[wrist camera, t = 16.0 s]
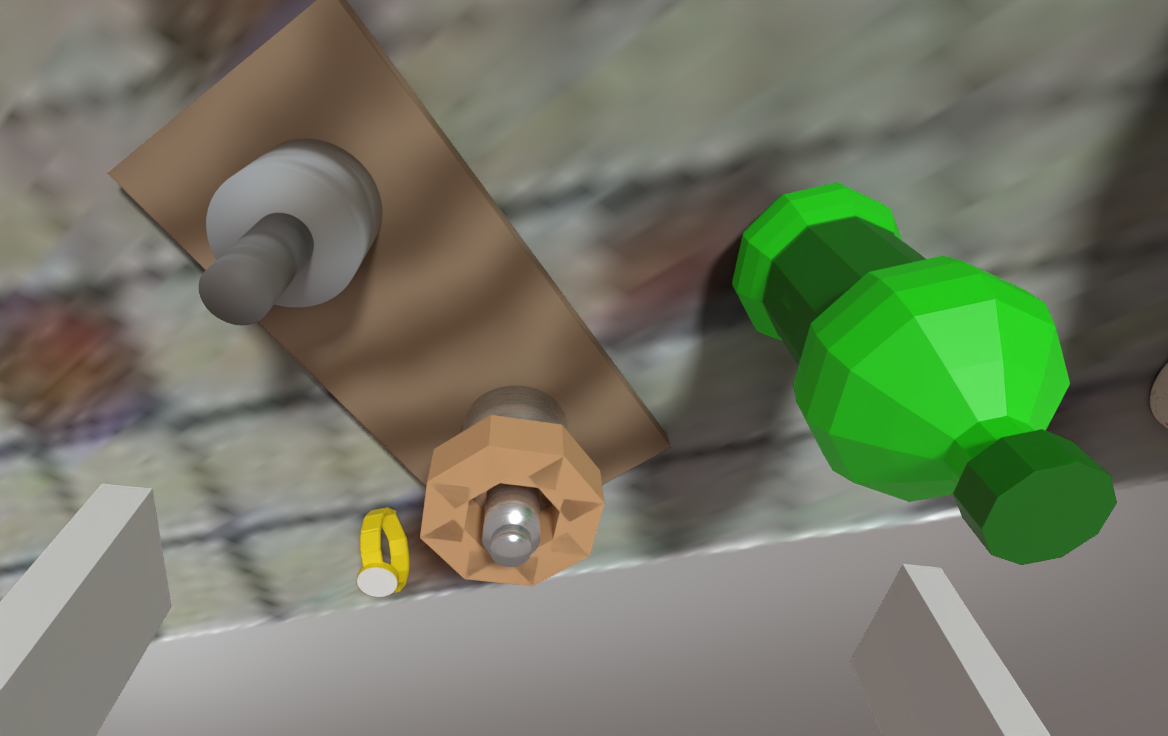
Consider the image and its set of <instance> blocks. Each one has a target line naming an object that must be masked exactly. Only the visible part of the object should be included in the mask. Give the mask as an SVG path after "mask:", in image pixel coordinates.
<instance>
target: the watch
mask: <svg viewBox="0 0 1168 736" xmlns="http://www.w3.org/2000/svg"><path fill="white" fill-rule="evenodd" d="M395 512H396V511H395V510H393V509H390V508H382V509H377V510H372V511H370V512H369V513H368V514H367V515H366V516H365V518H364V520H363V524H362V528H361V534H360V552H361V559H362V564H363V567H362V568H361V569H360V571H359V574H358V577H357V584H358V587H359V588H360V589H361V590H362V591H363V592H364V593H366V594H368V595H370V596H375V597H384V596H387V595H390V594H391V593H395V592H399V591H400V590H401V589H402V588H404V586H405V585H406V582H407V578H408V574H409V572H408V571H409V555H408V554H409V549H408V542H407V537H406V535H405V533H404V531H403V529H402V526H401V524H400V522H399V520H398V518H397V515H396V513H395ZM381 526H382V528H383V530H384V532H385V534H386V536H387V538H388V541H389V548H390V555H391V565H390V564H388V563H385V562H383V557H382V552H381Z"/></svg>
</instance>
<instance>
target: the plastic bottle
mask: <svg viewBox="0 0 1168 736" xmlns="http://www.w3.org/2000/svg"><path fill="white" fill-rule="evenodd" d="M732 285H733V287H734V289H735V291H736V293H737V295H738V297H739V299H740V300H741V302H742V304H743V306H744V308H745V310H746V312H747V314H748V316H749V318H750V320H751V322H752V324H753V325H754V327H755V329H756V330H757V332H760V333H762V334H765V335H767V336H770V337H772V338H775V339H777V340H780V341H782V342H784V344H785V345H786V347H787V348H788V350H789V351H790V353H791V354H792V356H793V357H794V359H795V360H796V362H797V363H798V365H799V366H798V369H797V373H796V376H795V380H794V383H793V387H794V392H795V397H796V402H797V404H798V406H799V408H800V410H801V412H802V414H803V416H804V418H805V420H806V422H807V424H808V425H809V427H810V429H811V431H812V433H813V435H814V437H815V439H816V441H817V443H818V445H819V447H820V449H821V451H822V453H823V455H824V456H825V458H826V460H827V461H828V463H829V465H830V466H831V468H832V470H833V471H835V472H836V473H838V474H840V475H841V476H843V477H845V478H846V479H848V480H850V481H852V482H853V483H856V484H859V485H862V486H865V487H868V488H871V489H874V490H877V491H879V492H882V493H885V494H888V495H891V496H894V497H897V498H900V499H903V500H905V501H908V502H910V501H916V500H922V499H928V498H934V497H940V496H945V495H950V494H953V495H954V497H955V500H956V502H957V505H958V508H959V510H960V513H961V515H962V518H963V519H964V520H965V521H966V523H967V524H968V525H969V527H970V528H971V529H972V531H973V532H974V533H975V534H976V536H977V537H978V538H979V540H980V541H981V542H982V544H983V545H984V546H985V547H986V549H987V550H988V551H989V553H990V554H991V555H993V556H996V557H999V558H1002V559H1005V560H1008V561H1011V562H1014V563H1017V564H1020V565H1024V564H1029V563H1034V562H1039V561H1044V560H1050V559H1055V558H1060V557H1063V556H1064V555H1066V554H1067V553H1069V552H1070V551H1072V550H1073V549H1075V548H1077V547H1078V546H1080V545H1081V544H1083V543H1084V542H1086V541H1087V540H1089V539H1091V538H1092V537H1094V536H1095V535H1097V534H1098V533H1099V531H1100V529H1101V528H1102V526H1103V524H1104V523H1105V521H1106V520H1107V518H1108V516H1109V515H1110V513H1111V511H1112V510H1113V508H1114V506H1115V505H1116V503H1117V501H1116V497H1115V492H1114V488H1113V484H1112V480H1111V476H1110V474H1109V473H1108V472H1106V471H1105V470H1104V469H1103V468H1102V467H1101V466H1100V465H1098V464H1097V463H1096V462H1095V461H1094V460H1093V459H1092V458H1091V457H1089V456H1088V455H1087V454H1086V453H1085V452H1084V451H1083V450H1081V449H1080V448H1079V447H1078V446H1077V445H1076V444H1075V443H1074V442H1072V441H1070V440H1068V439H1065V438H1063V437H1060V436H1058V435H1055V434H1053V433H1051V432H1048V431H1046V429H1047V427H1048V425H1049V423H1050V422H1051V420H1052V418H1053V416H1054V414H1055V412H1056V410H1057V408H1058V406H1059V404H1060V402H1061V400H1062V398H1063V396H1064V394H1065V392H1066V391H1067V389H1068V387H1069V385H1070V381H1069V377H1068V373H1067V369H1066V365H1065V362H1064V358H1063V354H1062V350H1061V346H1060V342H1059V338H1058V334H1057V330H1056V326H1055V324H1054V322H1053V320H1052V317H1051V315H1050V313H1049V310H1048V308H1047V306H1046V304H1045V303H1044V302H1043V301H1041V300H1040V299H1038V298H1037V297H1035V296H1034V295H1032V294H1030V293H1029V292H1027V291H1026V290H1024V289H1022V288H1020V287H1018V286H1016V285H1013V284H1011V283H1009V282H1007V281H1005V280H1003V279H1000V278H998V277H996V276H994V275H992V274H990V273H988V272H985V271H983V270H981V269H979V268H977V267H975V266H972V265H970V264H968V263H966V262H964V261H961V260H957V259H954V258H950V257H946V256H939V257H935V258H930V259H926V258H924V257H923V256H922V255H920V254H919V253H918V252H916V251H915V250H914V249H912V248H911V247H909V246H908V245H907V244H905V243H904V242H903V241H902V239H901V236H900V233H899V231H898V228H897V225H896V222H895V220H894V217H893V214H892V211H891V209H889V208H888V207H887V206H885V205H884V204H882V203H880V202H878V201H876V200H874V199H872V198H870V197H867V196H865V195H863V194H861V193H859V192H857V191H855V190H853V189H851V188H848V187H846V186H844V185H842V184H840V183H838V182H837V183H832V184H828V185H824V186H819V187H815V188H810V189H806V190H802V191H797V192H793V193H788V194H784V195H780V196H779V197H778V198H777V199H776V200H775V201H774V202H773V203H772V204H771V205H770V206H769V207H768V208H767V209H766V210H765V211H764V212H763V213H762V214H761V215H760V216H759V217H758V218H757V219H756V220H755V221H754V222H753V223H752V224H751V225H750V226H749V227H748V228H747V229H746V230H745V231H744V233H743V236H742V240H741V245H740V249H739V254H738V258H737V263H736V267H735V272H734V277H733V281H732Z"/></svg>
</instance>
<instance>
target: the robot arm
mask: <svg viewBox="0 0 1168 736" xmlns="http://www.w3.org/2000/svg"><path fill="white" fill-rule="evenodd" d="M170 608H171V601H170V595H169V588H168V582H167V576H166V570H165V564H164V557H163V551H162V545H161V539H160V533H159V527H158V520H157V514H156V508H155V502H154V496H153V489H149V488H139V487H129V486H119V485H110V484H101V485H100V487H99V488H98V489H97V490H96V491H95V492H94V493H93V495H92V496H91V497H90V498H89V499H88V500H87V502H86V503H85V504H84V505H83V506H82V507H81V509H80V510H79V511H78V512H77V513H76V514H75V516H74V517H73V518H72V519H71V520H70V521H69V523H68V524H67V525H66V526H65V527H64V528H63V530H62V531H61V532H60V533H59V534H58V535H57V537H56V538H55V539H54V540H53V541H52V542H51V544H50V545H49V546H48V547H47V548H46V549H45V551H44V552H43V553H42V554H41V555H40V556H39V558H38V559H37V560H36V561H35V562H34V563H33V565H32V566H31V567H30V568H29V569H28V570H27V572H26V573H25V574H24V575H23V576H22V577H21V579H20V580H19V581H18V582H17V583H16V584H15V585H14V587H13V588H12V589H11V590H10V591H9V592H8V594H7V595H6V596H5V597H4V598H3V599H2V601H1V602H0V736H96V735H97V733H98V731H99V729H100V728H101V726H102V724H103V722H104V721H105V719H106V717H107V716H108V714H109V712H110V711H111V709H112V707H113V705H114V704H115V702H116V700H117V699H118V696H119V695H120V694H121V692H122V690H123V688H124V687H125V685H126V683H127V681H128V680H129V678H130V676H131V675H132V673H133V671H134V669H135V668H136V666H137V665H138V663H139V661H140V659H141V658H142V656H143V654H144V653H145V651H146V649H147V647H148V646H149V644H150V642H151V641H152V639H153V637H154V636H155V634H156V632H157V630H158V629H159V627H160V625H161V624H162V622H163V620H164V618H165V617H166V615H167V613H168V612H169V610H170ZM850 663H851V665H852V667H853V670H854V672H855V674H856V677H857V679H858V681H859V684H860V686H861V688H862V691H863V693H864V695H865V697H866V700H867V702H868V704H869V707H870V709H871V711H872V714H873V716H874V718H875V720H876V723H877V725H878V727H879V730H880V732H881V734H882V736H1050V735H1049V733H1048V731H1047V730H1046V728H1045V727H1044V725H1043V724H1042V722H1041V721H1040V719H1039V718H1038V716H1037V715H1036V713H1035V711H1034V710H1033V708H1032V707H1031V705H1030V704H1029V702H1028V701H1027V699H1026V698H1025V696H1024V695H1023V693H1022V691H1021V690H1020V689H1019V687H1018V685H1017V684H1016V682H1015V681H1014V679H1013V678H1012V676H1011V675H1010V673H1009V672H1008V670H1007V669H1006V667H1005V665H1004V664H1003V662H1002V661H1001V659H1000V658H999V656H998V655H997V653H996V652H995V650H994V649H993V647H992V646H991V644H990V643H989V641H988V639H987V638H986V636H985V635H984V633H983V632H982V630H981V629H980V627H979V626H978V624H977V623H976V621H975V620H974V618H973V617H972V615H971V613H970V612H969V610H968V609H967V607H966V606H965V604H964V603H963V601H962V600H961V598H960V596H959V595H958V593H957V592H956V590H955V589H954V587H953V586H952V584H951V583H950V581H949V580H948V578H947V577H946V575H945V573H944V572H943V570H942V569H941V568H938V567H927V566H918V565H908V564H903V565H902V566H901V568H900V570H899V572H898V574H897V576H896V577H895V579H894V581H893V583H892V585H891V587H890V589H889V590H888V592H887V594H886V596H885V598H884V600H883V601H882V603H881V605H880V607H879V609H878V611H877V613H876V614H875V616H874V618H873V620H872V622H871V623H870V625H869V627H868V629H867V631H866V633H865V635H864V637H863V638H862V640H861V642H860V644H859V646H858V647H857V649H856V651H855V653H854V655H853V656H852V658H851V660H850Z"/></svg>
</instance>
